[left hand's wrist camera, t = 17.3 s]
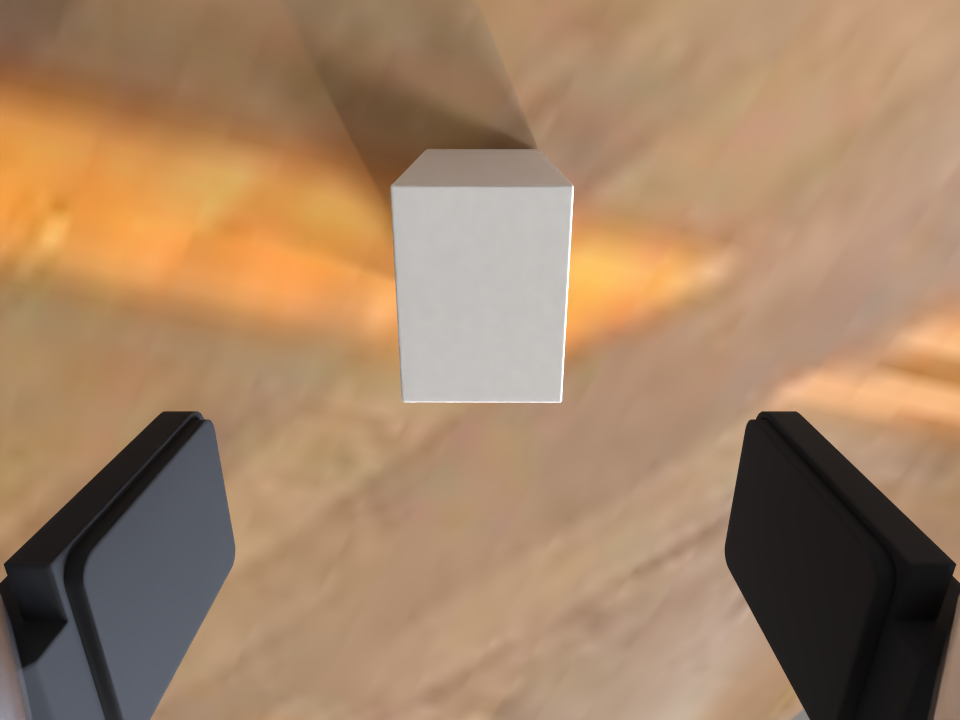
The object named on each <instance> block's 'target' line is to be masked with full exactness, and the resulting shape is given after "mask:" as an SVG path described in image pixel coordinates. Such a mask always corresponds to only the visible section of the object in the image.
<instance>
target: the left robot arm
mask: <svg viewBox="0 0 960 720" xmlns="http://www.w3.org/2000/svg"><path fill="white" fill-rule="evenodd" d="M234 558H235V543H234V537H233V531H232V526H231V520H230V514H229V508H228V503H227V497H226V491H225V486H224V480H223V474H222V469H221V463H220V457H219V452H218V446H217V440H216V435H215V429H214V425H213V423H212V421H210V420H204V418H203V416H202V414H201V413H199V412H162V413H161V414H160V415H159V416H157V417H156V418H155V419H154V420H153V421H152V422H151V423H150V424H149V425H148V426H147V427H146V428H145V429H144V430H143V431H142V432H141V433H140V434H139V435H138V436H137V437H136V438H135V439H134V440H132V441H131V442H130V443H129V444H128V445H127V446H126V447H125V448H124V449H123V450H122V451H121V452H120V453H119V454H118V455H117V456H116V457H115V458H114V459H113V460H112V461H111V462H110V463H109V464H108V465H106V466H105V467H104V468H103V469H102V470H101V471H100V472H99V473H98V474H97V475H96V476H95V477H94V478H93V479H92V480H91V481H90V482H89V483H88V484H87V485H86V486H85V487H84V488H83V489H82V490H80V491H79V492H78V493H77V494H76V495H75V496H74V497H73V498H72V499H71V500H70V501H69V502H68V503H67V504H66V505H65V506H64V507H63V508H62V509H61V510H60V511H59V512H58V513H57V514H55V515H54V516H53V517H52V518H51V519H50V520H49V521H48V522H47V523H46V524H45V525H44V526H43V527H42V528H41V529H40V530H39V531H38V532H37V533H36V534H35V535H34V536H33V537H32V538H31V539H29V540H28V541H27V542H26V543H25V544H24V545H23V546H22V547H21V548H20V549H19V550H18V551H17V552H16V553H15V554H14V555H13V556H12V557H11V558H10V559H9V560H8V561H7V562H6V563H5V564H4V567H5V569H6V572H7V575H8V576H7V577H6V578H5V579H4V580H3V581H2V582H1V583H0V720H150V719H151V717H152V715H153V713H154V711H155V709H156V707H157V706H158V704H159V702H160V700H161V698H162V696H163V694H164V693H165V691H166V689H167V687H168V685H169V683H170V681H171V680H172V678H173V676H174V674H175V672H176V670H177V668H178V667H179V665H180V663H181V661H182V659H183V657H184V655H185V654H186V652H187V650H188V648H189V646H190V644H191V642H192V641H193V639H194V637H195V635H196V633H197V631H198V629H199V628H200V626H201V624H202V622H203V620H204V618H205V616H206V615H207V613H208V611H209V609H210V607H211V605H212V603H213V602H214V600H215V598H216V596H217V594H218V592H219V590H220V589H221V587H222V585H223V583H224V581H225V579H226V577H227V576H228V574H229V572H230V570H231V568H232V566H233V562H234ZM725 558H726V562H727V566H728V568H729V570H730V572H731V574H732V576H733V577H734V579H735V581H736V583H737V585H738V587H739V589H740V590H741V592H742V594H743V596H744V598H745V600H746V602H747V603H748V605H749V607H750V609H751V611H752V613H753V615H754V616H755V618H756V620H757V622H758V624H759V626H760V628H761V629H762V631H763V633H764V635H765V637H766V639H767V641H768V642H769V644H770V646H771V648H772V650H773V652H774V654H775V655H776V657H777V659H778V661H779V663H780V665H781V667H782V668H783V670H784V672H785V674H786V676H787V678H788V680H789V681H790V683H791V685H792V687H793V689H794V691H795V693H796V694H797V696H798V698H799V700H800V702H801V704H802V706H803V707H804V709H805V711H806V713H807V715H808V717H809V719H810V720H960V583H959V582H958V581H957V580H956V579H955V578H954V577H953V576H952V575H953V572H954V569H955V567H956V564H955V563H954V562H953V561H952V560H951V559H950V558H949V557H948V556H947V555H946V554H945V553H944V552H943V551H942V550H941V549H940V548H939V547H938V546H937V545H936V544H935V543H934V542H933V541H932V540H931V539H929V538H928V537H927V536H926V535H925V534H924V533H923V532H922V531H921V530H920V529H919V528H918V527H917V526H916V525H915V524H914V523H913V522H912V521H911V520H910V519H909V518H908V517H907V516H906V515H905V514H903V513H902V512H901V511H900V510H899V509H898V508H897V507H896V506H895V505H894V504H893V503H892V502H891V501H890V500H889V499H888V498H887V497H886V496H885V495H884V494H883V493H882V492H881V491H880V490H878V489H877V488H876V487H875V486H874V485H873V484H872V483H871V482H870V481H869V480H868V479H867V478H866V477H865V476H864V475H863V474H862V473H861V472H860V471H859V470H858V469H857V468H856V467H855V466H854V465H852V464H851V463H850V462H849V461H848V460H847V459H846V458H845V457H844V456H843V455H842V454H841V453H840V452H839V451H838V450H837V449H836V448H835V447H834V446H833V445H832V444H831V443H830V442H829V441H828V440H826V439H825V438H824V437H823V436H822V435H821V434H820V433H819V432H818V431H817V430H816V429H815V428H814V427H813V426H812V425H811V424H810V423H809V422H808V421H807V420H806V419H805V418H804V417H803V416H801V415H800V414H799V413H798V412H761V413H759V414H758V416H757V418H756V420H750V421H748V423H747V425H746V429H745V435H744V440H743V446H742V452H741V457H740V463H739V469H738V474H737V480H736V486H735V491H734V497H733V503H732V508H731V514H730V520H729V525H728V531H727V537H726V543H725Z"/></svg>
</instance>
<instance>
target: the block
mask: <svg viewBox="0 0 960 720" xmlns="http://www.w3.org/2000/svg"><path fill="white" fill-rule="evenodd" d="M390 190H391V208H392V227H393V245H394V263H395V282H396V300H397V319H398V337H399V355H400V374H401V392H402V401H403V402H561V401H562V386H563V368H564V351H565V333H566V315H567V298H568V280H569V262H570V245H571V227H572V209H573V192H574V187H573V185H572V184H571V183H570V182H569V181H568V180H567V178H566V177H565V176H564V175H563V174H562V173H561V172H560V171H559V170H558V169H557V168H556V167H555V166H554V165H553V164H552V163H551V161H550V160H549V159H548V158H547V157H546V156H545V155H544V154H543V153H542V152H541V151H540V150H539V149H426V150H425V151H424V152H423V153H422V154H421V155H420V156H419V157H418V158H417V159H416V160H415V161H414V162H413V163H412V164H411V165H410V166H409V167H408V168H407V169H406V171H405V172H404V173H403V174H402V175H401V176H400V177H399V178H398V179H397V180H396V181H395V182H394V183H393V184H392V185H391V187H390Z"/></svg>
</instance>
